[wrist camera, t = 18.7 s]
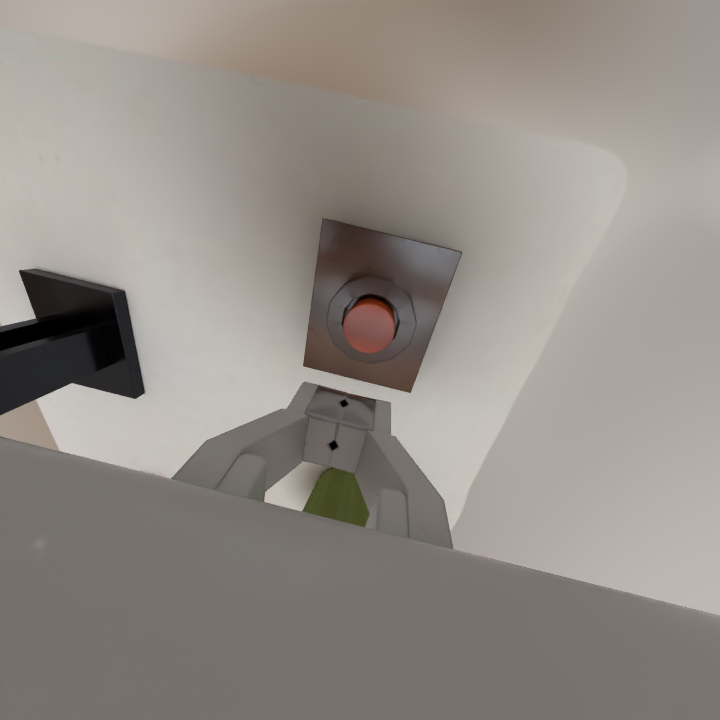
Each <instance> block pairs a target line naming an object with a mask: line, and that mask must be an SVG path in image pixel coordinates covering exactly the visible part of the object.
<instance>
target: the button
mask: <svg viewBox="0 0 720 720" xmlns="http://www.w3.org/2000/svg"><path fill="white" fill-rule="evenodd" d="M343 332H344V336H345V338H346V340H347V342H348V343H349V344H350V345H351V346H352V347H353V348H354V349H356V350H358V351H360V352H364V353H375V352H379V351H381V350H383V349H385V348H386V347H387V346H388V345H389V344H390V343H391V341H392V340H393V337H394V334H395V317H394V314H393V311H392V310H391V308H390V307H389V306H388V305H387V304H386V303H385V302H383V301H381V300H379V299H375V298H366V299H362V300H360V301H358V302H356V303H355V304H354V305H353V306H352V307H351V309H350V310H349V312H348V314H347V315H346V317H345V319H344V323H343Z"/></svg>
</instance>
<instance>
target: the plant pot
mask: <svg viewBox="0 0 720 720" xmlns="http://www.w3.org/2000/svg"><path fill="white" fill-rule="evenodd" d="M302 512H306V513H310V514H314V515H318V516H322V517H326V518H330V519H334V520H338V521H342V522H346V523H350V524H354V525H358V526H362V527H365V525H366V522H367V520H368V517H369V515H370V513H369V511H368V508H367V506H366V503H365V501H364V498H363V495H362V493H361V490H360V488H359V485H358V483H357V480H356V478H355V474H354V473H350V472H347V471H343V470H339V469H336V468H334V469H330V470H328V471H326V472H325V473H324V474H323V475H322V476H320V477H319V479H318V480H317V482H316V484H315V486H314V489H313V491H312V493H311V495H310V497H309V499H308V501H307V503H306V505H305V507H304V509H303V511H302Z"/></svg>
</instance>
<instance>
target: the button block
mask: <svg viewBox="0 0 720 720" xmlns="http://www.w3.org/2000/svg"><path fill="white" fill-rule="evenodd" d="M461 254H462V252H460V251H456V250H452V249H448V248H444V247H440V246H436V245H432V244H427V243H423V242H419V241H415V240H411V239H407V238H403V237H399V236H394V235H390V234H386V233H382V232H378V231H374V230H370V229H366V228H362V227H357V226H353V225H349V224H345V223H341V222H337V221H333V220H329V219H324V218H323V219H322V227H321V235H320V242H319V250H318V257H317V265H316V272H315V280H314V288H313V295H312V303H311V310H310V318H309V325H308V333H307V341H306V348H305V356H304V363H303V366H305V367H309V368H313V369H317V370H321V371H325V372H329V373H333V374H337V375H341V376H345V377H349V378H353V379H357V380H361V381H365V382H369V383H373V384H377V385H381V386H385V387H389V388H393V389H397V390H401V391H405V392H409V393H411V390H412V388H413V385H414V382H415V379H416V377H417V374H418V371H419V368H420V366H421V363H422V360H423V358H424V355H425V352H426V349H427V347H428V344H429V341H430V338H431V336H432V333H433V330H434V328H435V325H436V322H437V319H438V317H439V314H440V311H441V309H442V306H443V303H444V300H445V298H446V295H447V292H448V289H449V287H450V284H451V281H452V279H453V276H454V273H455V270H456V268H457V265H458V262H459V259H460V257H461ZM366 298H375V299H379V300H381V301H383V302H385V303H386V304H387V305H388V306H389V307H390V308H391V310H392V311H393V314H394V317H395V334H394V337H393V340H392V341H391V343H390V344H389V345H388V346H387V347H386V348H385V349H383V350H381V351H379V352H375V353H364V352H360V351H358V350H356V349H354V348H353V347H352V346H351V345H350V344H349V343H348V342H347V340H346V338H345V336H344V332H343V323H344V319H345V317H346V315H347V314H348V312H349V310H350V309H351V307H352V306H353V305H354V304H355V303H356V302H358V301H360V300H362V299H366Z"/></svg>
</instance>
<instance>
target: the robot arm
mask: <svg viewBox="0 0 720 720" xmlns="http://www.w3.org/2000/svg"><path fill="white" fill-rule="evenodd" d="M302 461H306V462H310V463H315V464H320V465H324V466H329V467H332V468H336V469H339V470H343V471H347V472H350V473H354V474H355V478H356V480H357V483H358V485H359V488H360V490H361V493H362V495H363V498H364V501H365V503H366V506H367V508H368V511H369V513H370V515H369V517H368V520H367V522H366V525H365V527H362V526H358V525H354V524H350V523H346V522H342V521H338V520H334V519H330V518H326V517H322V516H318V515H314V514H310V513H306V512H302V511H298V510H294V509H290V508H285V507H281V506H277V505H273V504H269V503H265V502H264V497H265V491H267V490H268V489H269V488H270V487H272V486H273V485H274V484H275V483H277V482H278V481H279V480H280V479H282V478H283V477H284V476H285V475H287V474H288V473H289V472H290V471H292V470H293V469H294V468H295V467H297V466H298V465H299V464H300V463H302ZM0 720H720V616H719V615H715V614H711V613H707V612H703V611H699V610H695V609H691V608H687V607H683V606H679V605H675V604H671V603H667V602H663V601H659V600H655V599H651V598H646V597H642V596H639V595H634V594H631V593H627V592H623V591H618V590H614V589H610V588H606V587H602V586H598V585H594V584H590V583H586V582H582V581H578V580H574V579H570V578H566V577H562V576H558V575H554V574H550V573H546V572H542V571H538V570H534V569H530V568H526V567H522V566H518V565H514V564H510V563H506V562H502V561H498V560H494V559H490V558H486V557H482V556H478V555H474V554H470V553H466V552H462V551H458V550H454V549H453V544H452V539H451V534H450V529H449V524H448V518H447V513H446V508H445V503H444V500H443V498H442V497H441V496H440V494H439V493H438V492H437V490H436V489H435V488H434V487H433V485H432V484H431V483H430V481H429V480H428V479H427V477H426V476H425V475H424V473H423V472H422V471H421V470H420V468H419V467H418V466H417V464H416V463H415V462H414V460H413V459H412V458H411V456H410V455H409V454H408V452H407V451H406V450H405V449H404V447H403V446H402V445H401V443H400V442H399V441H398V439H397V438H396V437H395V436H391V403H390V402H386V401H381V400H377V399H376V400H375V399H371V398H367V397H362V396H358V395H353V394H349V393H346V392H343V391H339V390H335V389H331V388H328V387H324V386H320V385H316V384H312V383H308V382H304V383H302V385H301V386H300V388H299V390H298V391H297V393H296V395H295V396H294V398H293V399H292V401H291V403H290V404H289V406H288V408H287V409H280V410H277V411H275V412H273V413H270V414H268V415H266V416H263V417H261V418H259V419H256V420H254V421H251V422H249V423H247V424H244V425H242V426H240V427H237V428H235V429H233V430H230V431H228V432H225V433H223V434H221V435H218V436H216V437H214V438H211V439H209V440H207V441H205V442H204V443H203V445H202V446H201V447H200V448H199V449H198V450H197V451H196V452H195V453H194V454H193V455H192V457H191V458H190V459H189V460H188V461H187V462H186V463H185V464H184V465H183V466H182V467H181V469H180V470H179V471H178V472H177V473H176V474H175V475H174V476H173V477H172V478H171V479H169V478H165V477H161V476H157V475H153V474H149V473H145V472H141V471H137V470H133V469H129V468H125V467H121V466H117V465H113V464H109V463H105V462H101V461H97V460H93V459H89V458H85V457H81V456H77V455H73V454H69V453H65V452H61V451H57V450H52V449H48V448H44V447H40V446H36V445H32V444H28V443H24V442H20V441H16V440H12V439H8V438H4V437H0Z"/></svg>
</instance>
